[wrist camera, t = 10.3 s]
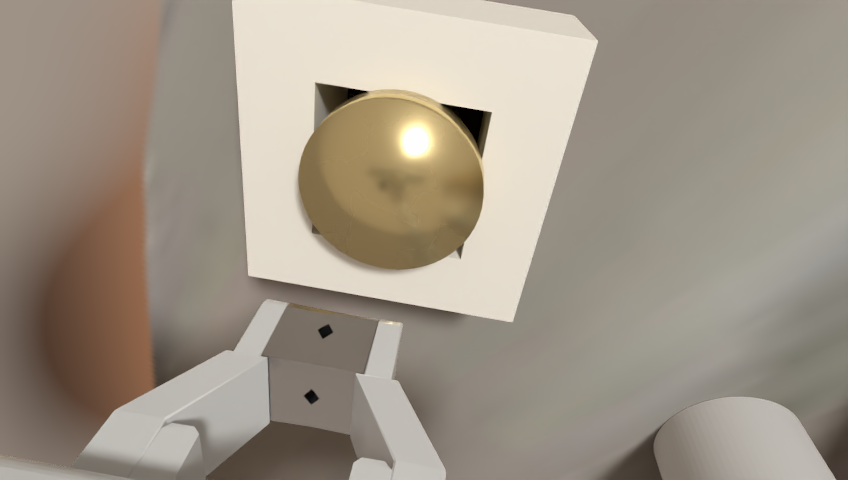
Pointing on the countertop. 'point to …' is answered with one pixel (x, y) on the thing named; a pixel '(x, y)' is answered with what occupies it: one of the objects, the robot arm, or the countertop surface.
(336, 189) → the brass dome knob
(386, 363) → the robot arm
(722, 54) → the countertop surface
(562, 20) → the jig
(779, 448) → the white cylinder
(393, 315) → the countertop surface
